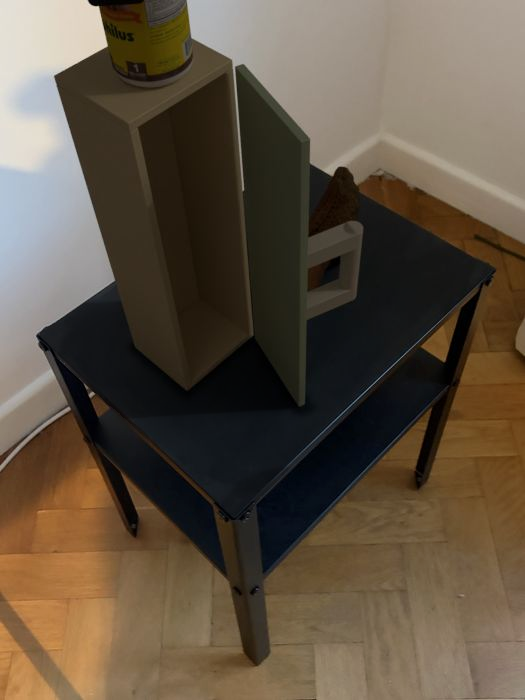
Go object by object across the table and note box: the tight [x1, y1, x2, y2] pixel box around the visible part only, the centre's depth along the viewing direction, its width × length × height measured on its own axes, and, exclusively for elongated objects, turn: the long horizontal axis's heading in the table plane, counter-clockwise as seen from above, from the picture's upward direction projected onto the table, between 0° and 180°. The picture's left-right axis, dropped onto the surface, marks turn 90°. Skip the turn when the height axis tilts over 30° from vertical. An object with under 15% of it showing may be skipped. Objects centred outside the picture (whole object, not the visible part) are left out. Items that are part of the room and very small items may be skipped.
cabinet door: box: [234, 63, 364, 408], centre depth 61 cm, size 6×9×31 cm
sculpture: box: [249, 166, 361, 297], centre depth 76 cm, size 8×10×15 cm
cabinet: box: [53, 37, 255, 392], centre depth 63 cm, size 8×9×31 cm
